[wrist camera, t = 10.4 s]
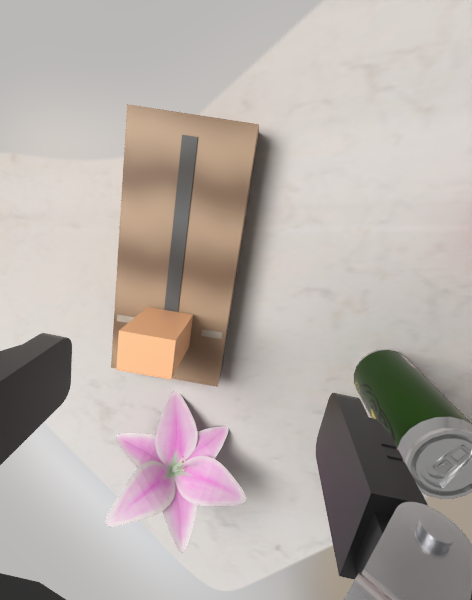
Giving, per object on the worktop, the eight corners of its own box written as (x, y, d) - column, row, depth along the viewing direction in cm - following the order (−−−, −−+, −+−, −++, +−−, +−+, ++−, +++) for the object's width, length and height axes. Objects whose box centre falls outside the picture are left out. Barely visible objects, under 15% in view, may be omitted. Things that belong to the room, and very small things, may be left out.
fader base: (139, 114, 27) (126, 104, 25) (258, 132, 27) (258, 123, 25) (122, 356, 33) (110, 368, 31) (220, 373, 33) (217, 387, 30)
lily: (254, 470, 37) (272, 501, 28) (160, 540, 34) (144, 599, 25) (197, 376, 39) (196, 375, 29) (104, 436, 36) (70, 456, 27)
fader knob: (147, 306, 29) (118, 330, 23) (193, 314, 29) (175, 340, 23) (144, 338, 30) (116, 369, 24) (189, 346, 29) (171, 379, 24)
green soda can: (380, 335, 31) (452, 409, 19) (422, 370, 31) (516, 463, 20) (339, 375, 32) (383, 467, 20) (380, 408, 33) (445, 516, 21)
